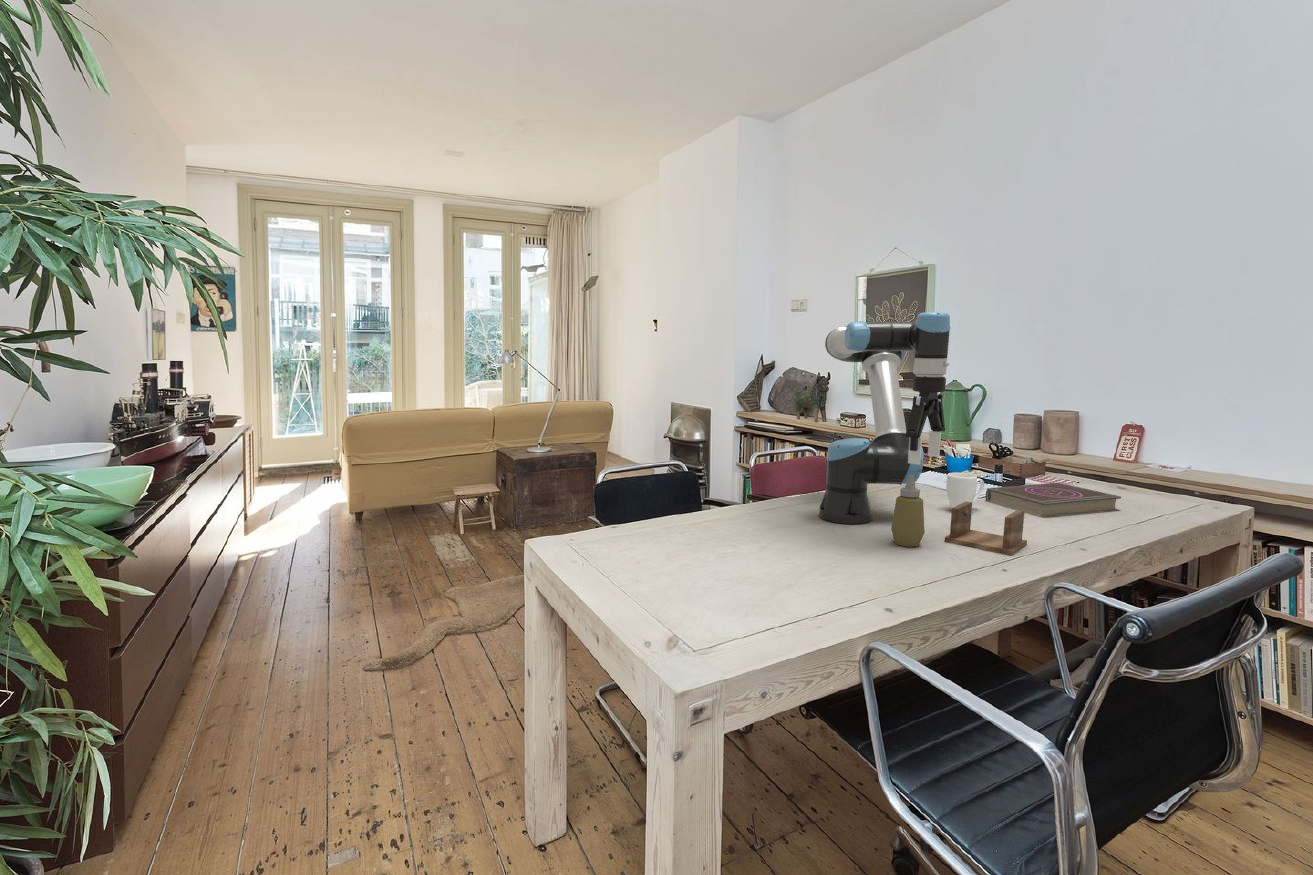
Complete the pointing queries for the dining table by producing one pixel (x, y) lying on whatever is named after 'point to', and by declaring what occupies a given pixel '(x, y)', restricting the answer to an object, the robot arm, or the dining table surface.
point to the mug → (962, 488)
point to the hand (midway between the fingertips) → (924, 460)
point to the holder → (986, 541)
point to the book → (1052, 499)
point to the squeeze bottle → (908, 516)
